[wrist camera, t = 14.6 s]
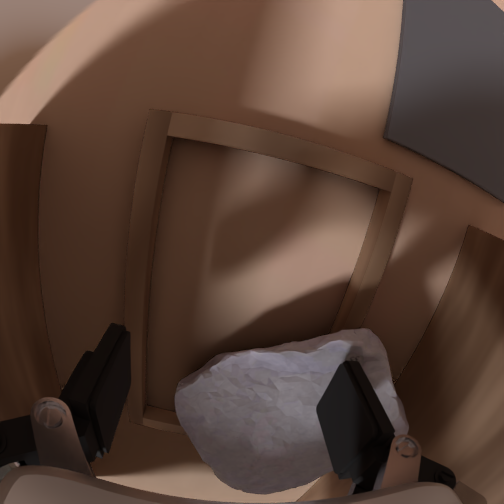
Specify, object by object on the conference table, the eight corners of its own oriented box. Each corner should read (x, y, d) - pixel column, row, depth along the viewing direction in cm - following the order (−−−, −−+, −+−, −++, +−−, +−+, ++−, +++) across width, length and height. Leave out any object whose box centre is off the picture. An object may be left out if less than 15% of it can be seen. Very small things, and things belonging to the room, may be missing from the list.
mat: (511, 24, 9) (514, 23, 8) (503, 202, 13) (507, 204, 13) (403, -57, 7) (406, -60, 7) (383, 137, 12) (387, 137, 12)
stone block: (179, 357, 17) (244, 467, 17) (143, 386, 13) (230, 511, 12) (355, 283, 16) (402, 413, 15) (377, 295, 11) (425, 453, 10)
